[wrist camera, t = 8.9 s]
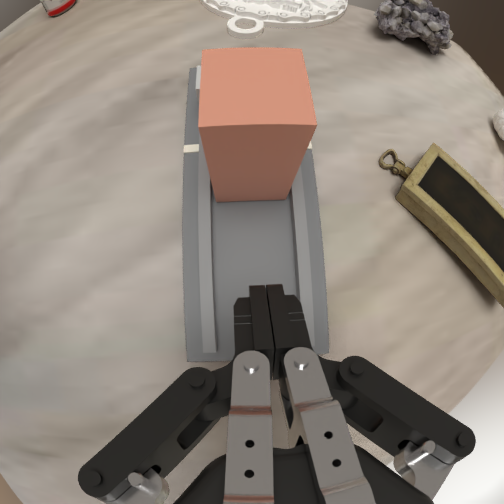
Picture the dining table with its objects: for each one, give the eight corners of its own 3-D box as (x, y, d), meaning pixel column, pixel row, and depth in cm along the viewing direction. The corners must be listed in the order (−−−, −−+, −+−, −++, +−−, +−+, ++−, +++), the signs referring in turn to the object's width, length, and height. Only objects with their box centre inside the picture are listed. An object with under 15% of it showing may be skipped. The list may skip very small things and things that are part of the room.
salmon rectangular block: (285, 199, 26) (317, 125, 14) (216, 202, 26) (198, 127, 14) (280, 140, 27) (301, 49, 15) (215, 142, 27) (202, 49, 15)
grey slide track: (325, 351, 26) (348, 364, 20) (189, 359, 25) (174, 375, 19) (295, 72, 30) (304, 35, 24) (191, 74, 30) (183, 37, 24)
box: (497, 316, 25) (524, 310, 20) (359, 188, 31) (371, 164, 26) (518, 263, 27) (543, 252, 22) (393, 146, 32) (406, 121, 27)
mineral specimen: (366, 18, 28) (422, -21, 20) (358, 5, 33) (404, -28, 25) (424, 83, 34) (476, 52, 26) (409, 59, 39) (453, 31, 31)
